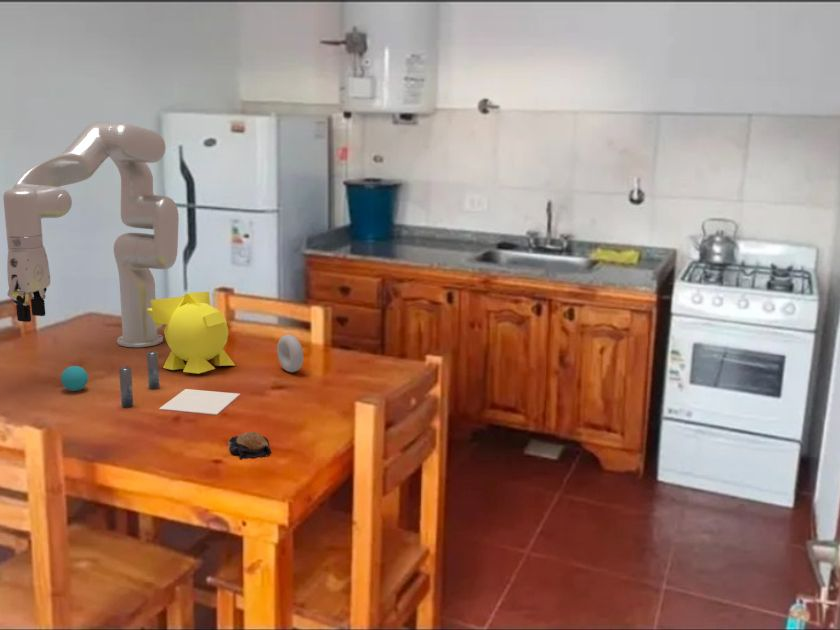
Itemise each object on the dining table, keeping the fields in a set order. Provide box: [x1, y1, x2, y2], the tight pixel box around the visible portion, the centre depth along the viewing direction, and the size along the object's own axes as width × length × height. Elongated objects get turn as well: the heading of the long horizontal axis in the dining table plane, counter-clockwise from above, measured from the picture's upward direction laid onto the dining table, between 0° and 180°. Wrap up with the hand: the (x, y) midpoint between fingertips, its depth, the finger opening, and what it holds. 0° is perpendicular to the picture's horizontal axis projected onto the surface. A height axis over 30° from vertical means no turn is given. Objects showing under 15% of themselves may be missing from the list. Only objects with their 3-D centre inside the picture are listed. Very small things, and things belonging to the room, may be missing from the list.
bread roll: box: [227, 431, 272, 461], centre depth 176 cm, size 11×8×4 cm
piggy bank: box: [147, 291, 236, 375], centre depth 226 cm, size 20×20×19 cm
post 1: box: [118, 366, 134, 409], centre depth 197 cm, size 3×3×9 cm
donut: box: [276, 334, 304, 373], centre depth 225 cm, size 10×3×10 cm, turn 40°
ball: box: [60, 365, 89, 392], centre depth 207 cm, size 6×6×6 cm
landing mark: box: [158, 388, 241, 416], centre depth 202 cm, size 14×14×1 cm
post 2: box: [146, 350, 161, 390], centre depth 210 cm, size 3×3×9 cm
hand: (31, 317), depth 205 cm, fingers open, 4 cm apart
